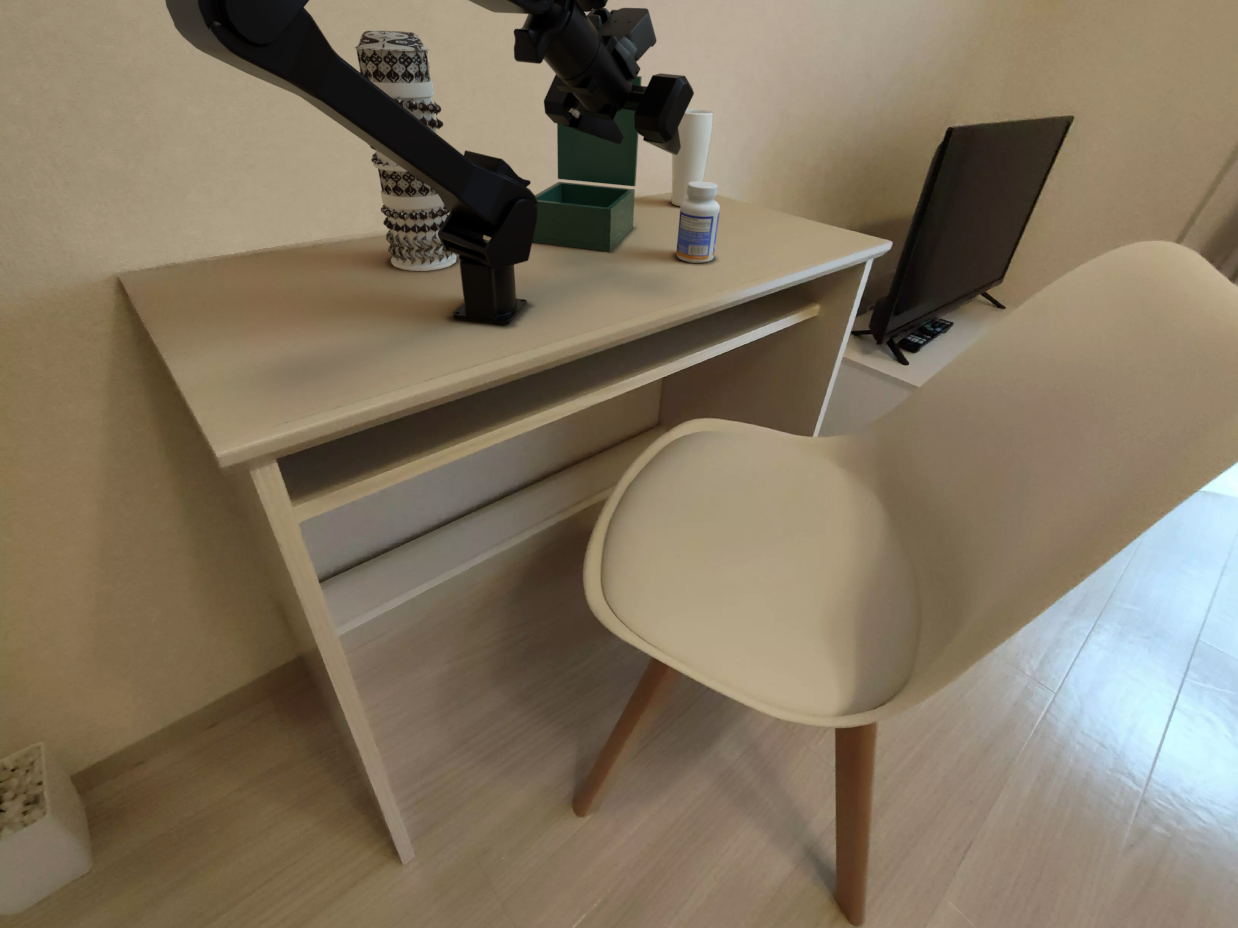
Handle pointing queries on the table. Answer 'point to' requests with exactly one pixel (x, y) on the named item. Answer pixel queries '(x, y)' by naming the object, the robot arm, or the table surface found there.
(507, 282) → the robot arm
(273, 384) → the table surface
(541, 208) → the green open box
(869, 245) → the table surface
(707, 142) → the white tumbler
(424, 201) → the black and white cylinder
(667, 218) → the table surface
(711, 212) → the pill bottle
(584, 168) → the green box lid
